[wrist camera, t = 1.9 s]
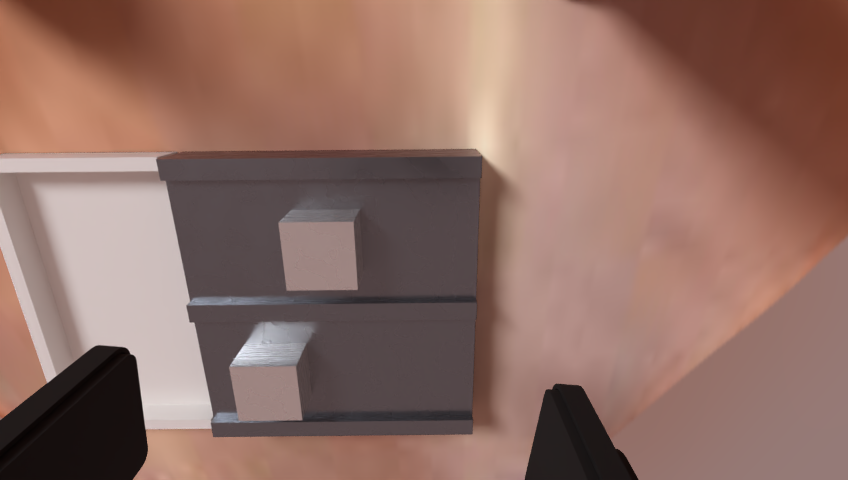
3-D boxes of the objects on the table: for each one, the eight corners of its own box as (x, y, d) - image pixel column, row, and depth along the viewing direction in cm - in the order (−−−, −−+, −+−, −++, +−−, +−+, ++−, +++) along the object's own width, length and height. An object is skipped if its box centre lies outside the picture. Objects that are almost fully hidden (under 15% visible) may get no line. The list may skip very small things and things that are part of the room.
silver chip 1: (359, 209, 26) (353, 221, 23) (363, 272, 27) (357, 289, 25) (291, 210, 26) (278, 222, 23) (298, 272, 27) (286, 290, 25)
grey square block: (306, 343, 29) (295, 366, 26) (311, 394, 30) (302, 420, 28) (244, 344, 29) (228, 367, 26) (253, 394, 30) (238, 420, 28)
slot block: (475, 149, 27) (482, 156, 24) (468, 404, 33) (472, 434, 31) (183, 151, 27) (155, 159, 24) (230, 407, 33) (213, 436, 31)
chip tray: (177, 151, 27) (156, 157, 25) (225, 407, 33) (212, 428, 31) (4, 153, 27) (-30, 158, 25) (85, 408, 33) (63, 430, 31)
